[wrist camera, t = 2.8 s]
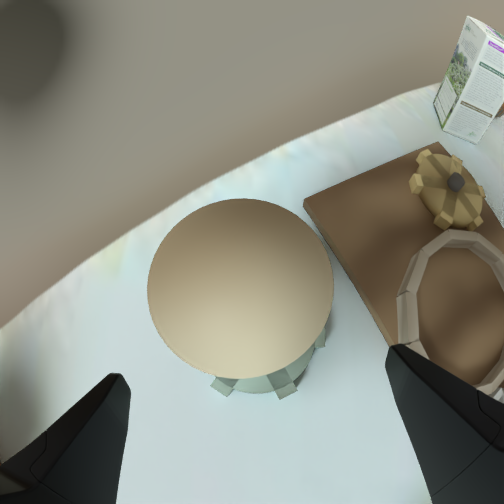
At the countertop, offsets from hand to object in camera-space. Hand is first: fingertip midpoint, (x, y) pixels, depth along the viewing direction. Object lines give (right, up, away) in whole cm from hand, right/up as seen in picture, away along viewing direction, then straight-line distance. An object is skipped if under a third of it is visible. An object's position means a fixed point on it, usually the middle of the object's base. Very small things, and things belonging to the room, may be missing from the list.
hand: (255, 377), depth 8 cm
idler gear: (0, -2, +10) cm, 10 cm away
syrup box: (+25, +20, +17) cm, 36 cm away
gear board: (+18, -1, +9) cm, 20 cm away
